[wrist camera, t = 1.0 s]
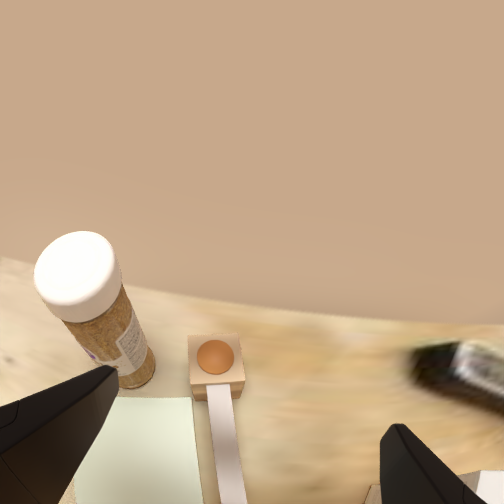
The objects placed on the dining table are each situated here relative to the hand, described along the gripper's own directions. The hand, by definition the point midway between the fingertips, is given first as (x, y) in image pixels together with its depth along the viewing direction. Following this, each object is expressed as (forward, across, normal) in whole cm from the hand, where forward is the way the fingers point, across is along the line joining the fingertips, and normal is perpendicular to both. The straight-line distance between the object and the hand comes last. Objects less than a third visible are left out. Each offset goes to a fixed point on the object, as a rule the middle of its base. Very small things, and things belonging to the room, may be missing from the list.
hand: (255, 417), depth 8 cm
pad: (+5, +7, +14) cm, 16 cm away
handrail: (+6, 0, +13) cm, 15 cm away
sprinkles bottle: (+11, +10, +10) cm, 18 cm away
